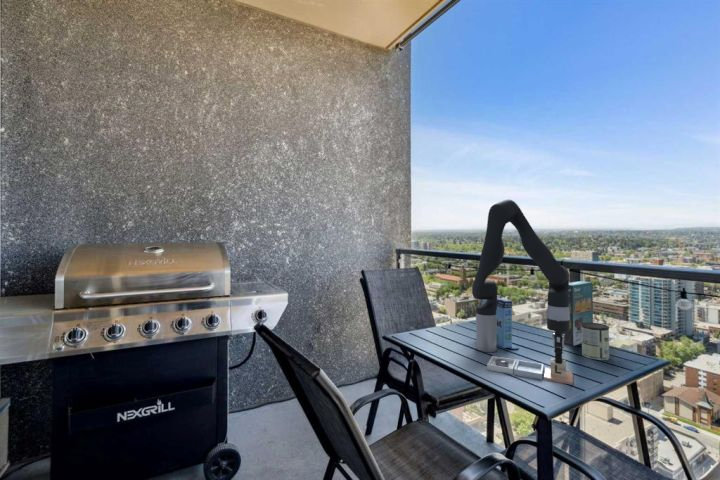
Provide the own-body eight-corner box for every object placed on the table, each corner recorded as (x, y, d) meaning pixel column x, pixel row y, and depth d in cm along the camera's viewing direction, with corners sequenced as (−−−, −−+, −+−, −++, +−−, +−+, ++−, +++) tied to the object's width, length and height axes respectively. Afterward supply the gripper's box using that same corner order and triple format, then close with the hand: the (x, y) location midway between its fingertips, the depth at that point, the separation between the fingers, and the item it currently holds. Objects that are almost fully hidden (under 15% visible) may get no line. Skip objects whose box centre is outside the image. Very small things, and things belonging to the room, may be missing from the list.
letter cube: (551, 370, 131) (550, 357, 131) (565, 373, 129) (565, 360, 129) (550, 375, 127) (550, 361, 127) (566, 377, 124) (565, 364, 124)
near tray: (492, 360, 146) (492, 355, 146) (516, 364, 141) (516, 359, 141) (487, 369, 135) (487, 364, 135) (513, 374, 130) (512, 368, 130)
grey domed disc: (496, 363, 141) (496, 358, 141) (509, 365, 139) (509, 360, 139) (494, 366, 137) (494, 361, 137) (507, 369, 135) (507, 364, 135)
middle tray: (517, 365, 140) (517, 359, 140) (543, 369, 135) (543, 363, 135) (514, 374, 130) (514, 369, 130) (542, 379, 125) (542, 373, 125)
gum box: (481, 337, 182) (480, 295, 182) (489, 336, 183) (488, 294, 183) (503, 348, 163) (503, 301, 163) (513, 347, 164) (512, 300, 164)
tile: (545, 370, 135) (545, 367, 135) (572, 374, 130) (572, 371, 130) (544, 379, 125) (544, 377, 125) (573, 384, 121) (573, 382, 121)
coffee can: (583, 351, 158) (583, 321, 158) (611, 356, 151) (610, 324, 151) (579, 356, 150) (579, 325, 150) (607, 362, 143) (607, 329, 143)
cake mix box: (580, 336, 183) (579, 281, 183) (593, 338, 177) (592, 282, 178) (560, 343, 170) (559, 284, 171) (573, 345, 165) (572, 285, 166)
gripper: (547, 312, 136) (547, 352, 136) (546, 320, 124) (546, 364, 124) (569, 314, 132) (569, 355, 132) (570, 322, 120) (570, 367, 120)
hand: (558, 359), depth 128 cm, fingers open, 8 cm apart
